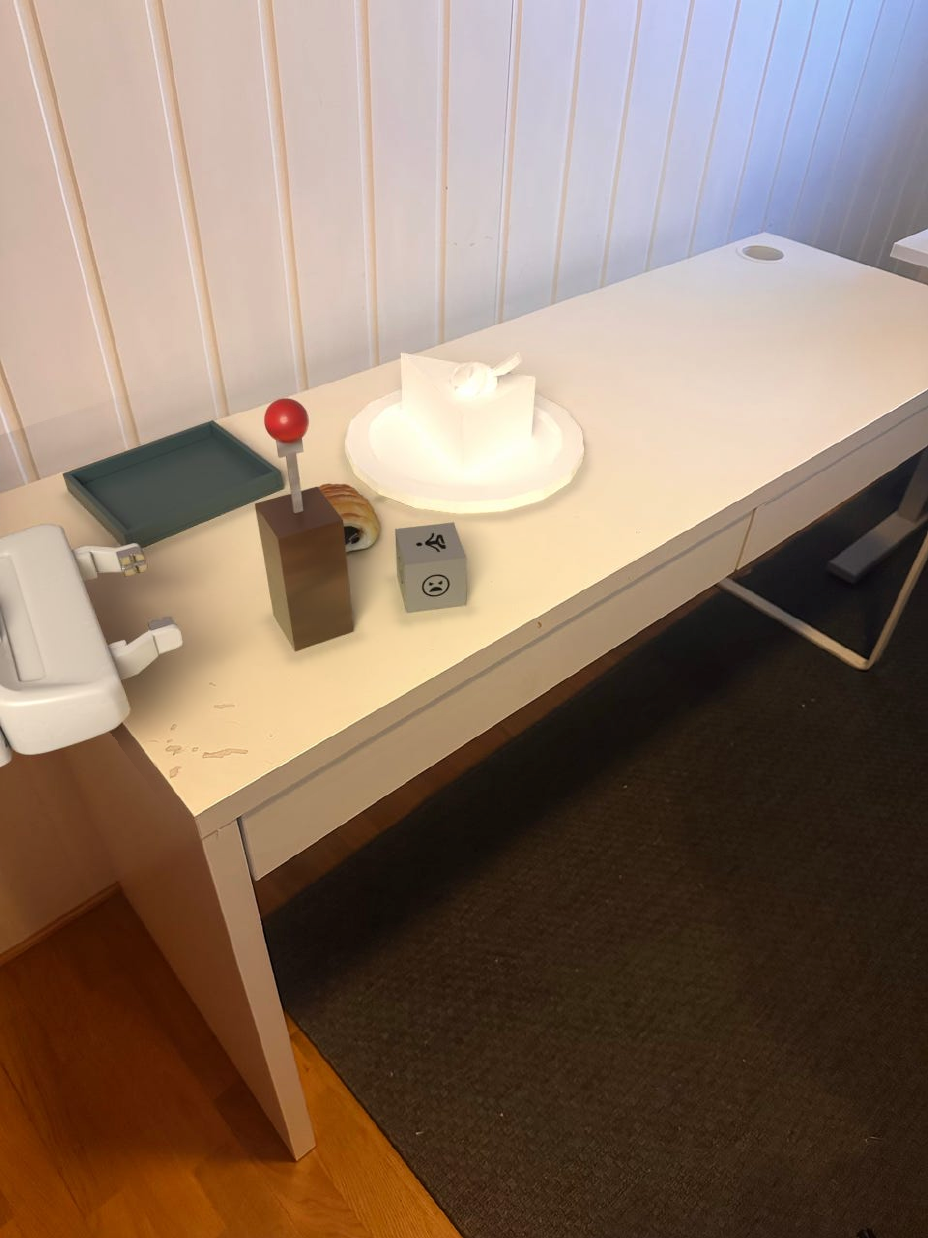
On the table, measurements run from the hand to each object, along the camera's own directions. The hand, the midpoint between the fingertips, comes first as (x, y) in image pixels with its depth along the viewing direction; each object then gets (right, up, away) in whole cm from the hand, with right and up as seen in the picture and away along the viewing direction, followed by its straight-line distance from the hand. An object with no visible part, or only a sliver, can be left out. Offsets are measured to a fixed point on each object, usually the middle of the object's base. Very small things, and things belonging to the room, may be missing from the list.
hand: (160, 591), depth 64 cm
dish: (+22, +16, +30) cm, 41 cm away
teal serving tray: (-6, +11, +23) cm, 26 cm away
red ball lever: (+9, -2, +9) cm, 13 cm away
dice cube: (+19, 0, +12) cm, 23 cm away
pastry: (+10, +6, +18) cm, 22 cm away
